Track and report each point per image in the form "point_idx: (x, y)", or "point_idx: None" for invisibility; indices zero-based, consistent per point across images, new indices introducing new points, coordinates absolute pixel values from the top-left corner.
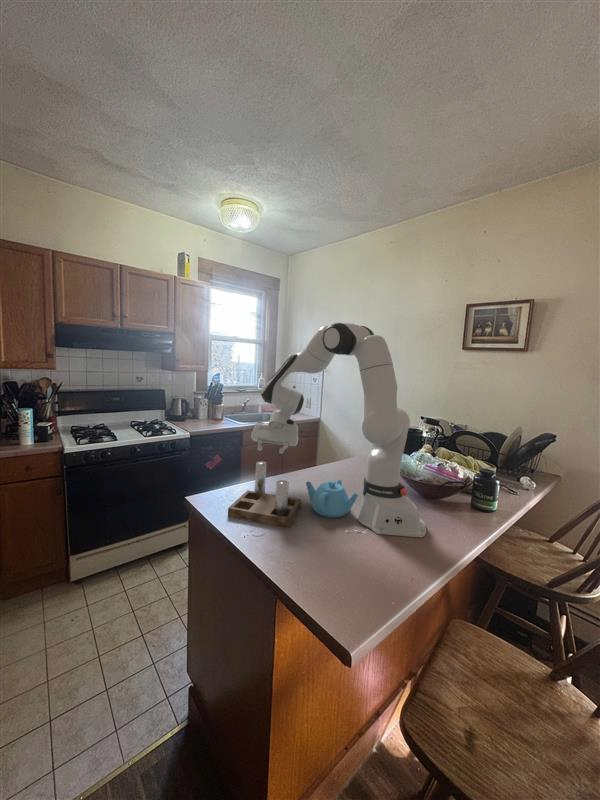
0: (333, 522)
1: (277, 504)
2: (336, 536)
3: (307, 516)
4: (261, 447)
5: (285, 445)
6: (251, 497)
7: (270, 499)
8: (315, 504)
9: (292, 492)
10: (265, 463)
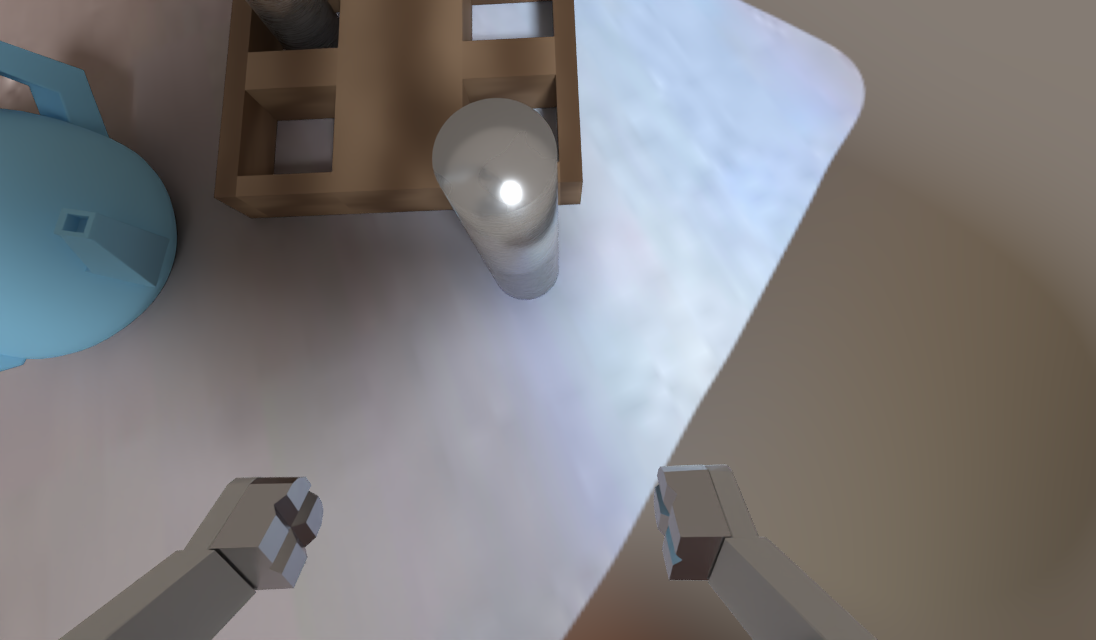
0: None
1: None
2: (56, 20)
3: (201, 135)
4: (668, 516)
5: (90, 629)
6: None
7: (394, 118)
8: (112, 145)
9: (342, 403)
10: (444, 163)
